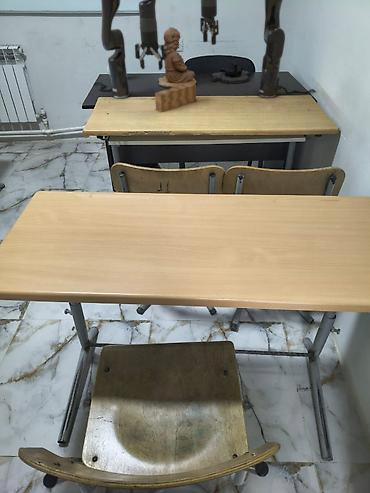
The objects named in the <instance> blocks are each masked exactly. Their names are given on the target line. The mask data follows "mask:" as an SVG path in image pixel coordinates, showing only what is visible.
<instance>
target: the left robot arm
mask: <svg viewBox="0 0 370 493" xmlns="http://www.w3.org/2000/svg"><path fill="white" fill-rule="evenodd" d="M156 2H157V0H141V1H139V3H138V14H139V31H140V32H139V33H140V42H141V43H139V42H138V43H135V44H134V55H135V59H137V60H139V66H140V67H139V68H141V70H144V69H145V68H146V66H145V59H144V58H145V56H154V57H155V58H156V59H157V60H158V63H157V64H158V70H159V71H161V70H162V69H163V67H164V64H163V63H164V62H163V61H164V60H165V59H166V49H165V44H164V43H163V44H159V36H158V34H159V32H158V22H157V12H156V11H157V10H156ZM100 3H101V32H100V33H101V35H100V36H101V44H102V48H103V49H104V50H105V51H107V52H109V51H114V52H113V54H112V55H110V56H109V57H108V58H107V64H108V66H109V71H110V75H109V76H110V83H111V88H108V89H107V88H106V84H105V83H103V82H100V81H96V82H94V83H93V85H94V86H96V85H98V84H99V85H101V86H100V87H99V91H102V92H112V97H113V98H114V99H125V98H128V97H130V90H129V89H130V88H129V82H128V81H129V79H128V74H127V66H126V65H127V64H126V47H125V37H124V33H123V32H122V30H121V29H119V28H114V29H112V27H113V26H112V25H113V21H114V19H115V17H116V14H117V12H118V10H119V8H120V6H121V0H100ZM141 50H142V52H140V51H141ZM159 50H160V51H161V53H160V52H159ZM104 88H106V89H104Z"/></svg>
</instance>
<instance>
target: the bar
mask: <svg viewBox="0 0 370 493" xmlns="http://www.w3.org/2000/svg"><path fill="white" fill-rule="evenodd" d="M154 100H155V110H157V111H159V112H161V113H163V112H166V111H170V110H172V109H175V108H179V107H183V106H184V105H188V104H190V103H194V102H197V84H192V83H188V84H184V85H181V86H177V87H169V88H167V89H163V90H160V91H157V92H154Z"/></svg>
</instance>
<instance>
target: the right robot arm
mask: <svg viewBox="0 0 370 493" xmlns="http://www.w3.org/2000/svg"><path fill="white" fill-rule="evenodd" d="M282 4H283V0H264V28H263V41H264V43H265V52H264V55H263V57H262V62H261V63H262V65H261V75H260V85H259V93H258V95H259V97H261V98H267V99H269V98H276V97H278V94H279V91H281V89H282V90H284V91H285V94H292V93H298V94H309V93H310V92H313V93H316V90H315V89H313V88H311V89H309V90H306V91H303V90H296V89H295V90H294V89H293V90H291V91H288V90H287V88H286V87H285V86H283V85H282V84H281V83H280V77H279V74H280V68H281V61H282V57H283V55H284V48H285V43H286V33H285V31H284V30H283V29H282V28H281V21H280V20H281V19H280V17H281V16H280V15H281V8H282ZM217 15H218V0H200V16H201V17H200V19H199V20H200V22H199V24H200V25H199V28H200V32H201V34H202V42H203V43H207V42H209V40H208V39H209V38H208V34H209V33H210V35H211V37H210V38H211V40H210V42H211V46H215V45H216V44H217V36H218V35H220V34H219V33H220V32H219V31H220V30H219V29H220V28H219V20H218V19H215V17H217ZM208 32H209V33H208Z"/></svg>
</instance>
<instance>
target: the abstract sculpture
mask: <svg viewBox="0 0 370 493" xmlns="http://www.w3.org/2000/svg"><path fill="white" fill-rule="evenodd" d="M218 71H219V72H214V73H211V77H212V82H214V83H216V82H217V81H218V82H219V81H221V82H222V83H225V84H229V85H231V84H244V83H246V82H247V83H248V82H249V81H250V77H249V76H250V72H249V71H248V70H244V67H243V66H239V65H238V63H237V62H235V61H234V60H230V61H229V68H228V67H220V68H219V70H218Z"/></svg>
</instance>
